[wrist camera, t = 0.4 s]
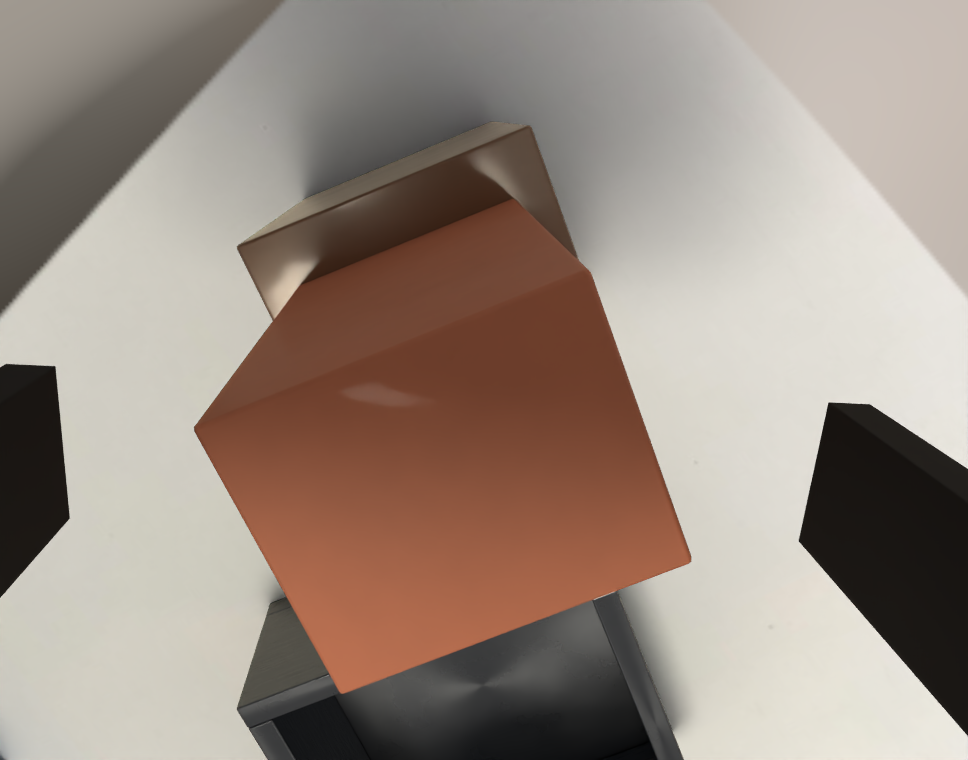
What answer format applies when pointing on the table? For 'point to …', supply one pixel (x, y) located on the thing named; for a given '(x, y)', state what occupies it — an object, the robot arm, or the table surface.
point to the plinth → (402, 207)
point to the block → (442, 448)
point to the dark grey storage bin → (467, 697)
